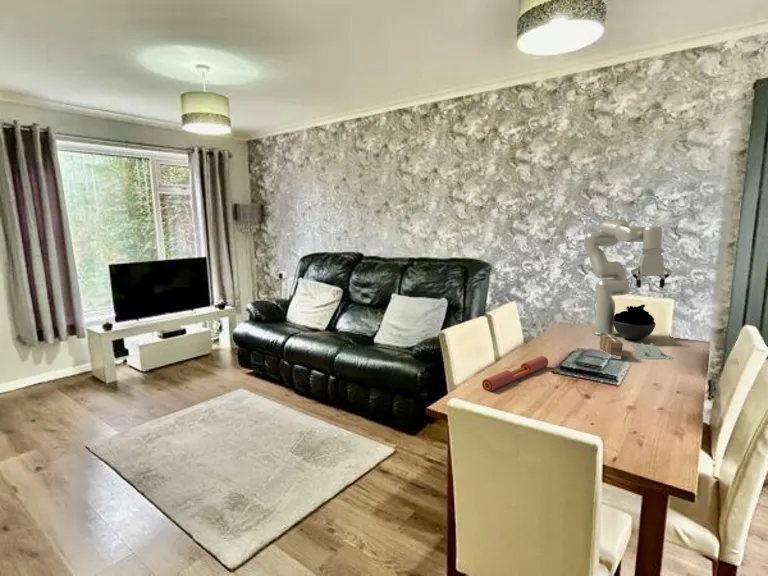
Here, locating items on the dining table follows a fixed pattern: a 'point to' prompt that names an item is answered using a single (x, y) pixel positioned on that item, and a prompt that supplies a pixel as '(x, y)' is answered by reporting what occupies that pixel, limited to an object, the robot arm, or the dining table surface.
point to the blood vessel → (514, 373)
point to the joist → (611, 344)
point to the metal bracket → (649, 352)
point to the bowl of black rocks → (634, 323)
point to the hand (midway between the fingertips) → (650, 287)
